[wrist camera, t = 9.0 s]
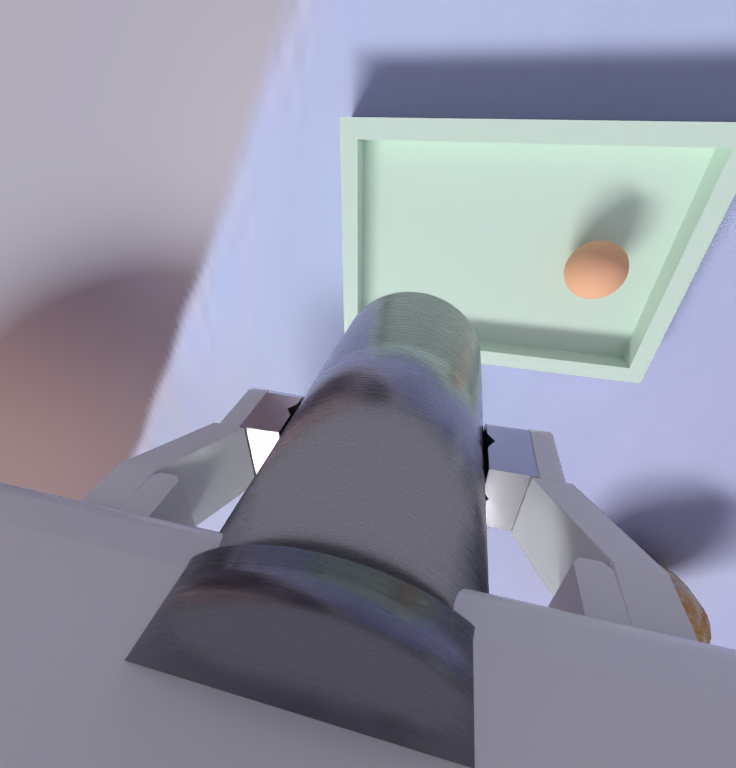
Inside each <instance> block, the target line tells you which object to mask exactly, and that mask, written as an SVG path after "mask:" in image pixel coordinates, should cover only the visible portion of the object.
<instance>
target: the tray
mask: <svg viewBox="0 0 736 768" xmlns="http://www.w3.org/2000/svg"><path fill="white" fill-rule="evenodd" d="M340 162H341V208H342V254H343V299H344V334H345V332H346V331H347V329H348V328H349V326H350V324H351V323H352V321H353V320H354V318H355V317H356V316H357V314H358V313H359V312H360V311H361V310H362V309H363V308H364V307H365V306H367V305H368V304H369V303H371V302H372V301H374V300H376V299H378V298H380V297H383V296H385V295H388V294H393V293H398V292H420V293H426V294H429V295H433V296H436V297H438V298H440V299H443V300H445V301H446V302H448V303H450V304H452V305H453V306H454V307H456V308H457V309H458V310H459V311H460V312H461V313H462V314H463V315H464V316H465V317H466V318H467V319H468V321H469V322H470V323H471V325H472V326H473V328H474V330H475V332H476V335H477V337H478V340H479V345H480V354H481V364H489V365H497V366H505V367H513V368H521V369H529V370H537V371H545V372H553V373H561V374H569V375H577V376H585V377H594V378H602V379H610V380H618V381H626V382H634V383H640V382H641V380H642V378H643V376H644V374H645V372H646V370H647V368H648V366H649V364H650V362H651V360H652V358H653V356H654V354H655V352H656V350H657V348H658V346H659V344H660V343H661V341H662V339H663V337H664V335H665V333H666V331H667V329H668V327H669V325H670V323H671V321H672V319H673V317H674V315H675V313H676V311H677V309H678V307H679V305H680V303H681V301H682V299H683V297H684V295H685V293H686V291H687V289H688V287H689V285H690V283H691V281H692V279H693V277H694V275H695V273H696V271H697V269H698V267H699V265H700V263H701V261H702V259H703V257H704V255H705V253H706V251H707V249H708V247H709V245H710V243H711V241H712V239H713V237H714V235H715V233H716V231H717V229H718V227H719V225H720V223H721V221H722V219H723V217H724V215H725V213H726V211H727V209H728V207H729V205H730V203H731V201H732V199H733V197H734V195H735V193H736V122H684V121H609V120H535V119H460V118H385V117H340ZM599 240H603V241H610V242H613V243H615V244H617V245H619V246H620V247H621V248H622V249H623V250H624V251H625V252H626V254H627V256H628V259H629V272H628V275H627V278H626V280H625V281H624V283H623V284H622V285H621V286H620V287H619V288H618V289H617V290H616V291H615V292H613V293H612V294H610V295H608V296H605V297H602V298H598V299H585V298H581V297H579V296H577V295H575V294H573V293H572V292H571V291H570V290H569V288H568V287H567V285H566V283H565V280H564V268H565V265H566V262H567V260H568V259H569V257H570V256H571V254H572V253H573V252H574V251H575V250H576V249H578V248H579V247H581V246H582V245H584V244H586V243H589V242H593V241H599Z"/></svg>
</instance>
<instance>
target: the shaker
mask: <svg viewBox="0 0 736 768" xmlns="http://www.w3.org/2000/svg"><path fill="white" fill-rule="evenodd" d="M220 533H222V534H223V537H222V540H221V543H220V545H219V547H218V548H215V549H210V550H207V551H204V552H202V553H200V554H197V555H195V556H193V557H192V558H191V560H190V561H189V563H188V565H187V567H186V568H185V570H184V571H183V573H182V574H181V576H180V577H179V579H178V580H177V582H176V583H175V585H174V586H173V588H172V589H171V591H170V592H169V594H168V595H167V597H166V598H165V600H164V601H163V603H162V604H161V606H160V607H159V609H158V610H157V612H156V614H155V615H154V617H153V618H152V620H151V621H150V623H149V624H148V626H147V627H146V629H145V630H144V632H143V633H142V635H141V636H140V638H139V639H138V641H137V642H136V644H135V645H134V647H133V648H132V650H131V651H130V653H129V654H128V656H127V657H126V659H125V661H128V662H131V663H134V664H138V665H141V666H144V667H147V668H151V669H154V670H157V671H160V672H164V673H167V674H170V675H173V676H176V677H180V678H183V679H186V680H189V681H193V682H196V683H199V684H202V685H206V686H209V687H212V688H215V689H218V690H222V691H225V692H228V693H231V694H235V695H238V696H241V697H244V698H247V699H251V700H254V701H257V702H260V703H264V704H267V705H270V706H273V707H277V708H280V709H283V710H286V711H289V712H293V713H296V714H299V715H302V716H306V717H309V718H312V719H315V720H319V721H322V722H325V723H328V724H331V725H335V726H338V727H341V728H344V729H348V730H351V731H354V732H357V733H360V734H364V735H367V736H370V737H373V738H377V739H380V740H383V741H386V742H390V743H393V744H396V745H399V746H402V747H406V748H409V749H412V750H415V751H419V752H422V753H425V754H428V755H432V756H435V757H438V758H441V759H444V760H448V761H451V762H454V763H457V764H461V765H464V766H467V767H470V768H475V746H474V673H473V637H474V630H475V626H473V625H472V624H471V623H470V622H469V621H468V620H466V619H465V618H464V617H462V616H461V615H460V614H458V613H457V612H456V611H454V610H453V607H454V604H455V600H456V596H457V595H458V593H459V591H461V590H462V589H470V590H475V591H479V592H484V593H488V594H489V585H488V556H487V527H486V498H485V470H484V441H483V412H482V383H481V354H480V345H479V340H478V337H477V335H476V332H475V330H474V328H473V326H472V325H471V323H470V322H469V321H468V319H467V318H466V317H465V316H464V315H463V314H462V313H461V312H460V311H459V310H458V309H457V308H456V307H454V306H453V305H452V304H450V303H448V302H446V301H445V300H443V299H440V298H438V297H436V296H433V295H429V294H426V293H420V292H398V293H393V294H388V295H385V296H383V297H380V298H378V299H376V300H374V301H372V302H371V303H369V304H368V305H367V306H365V307H364V308H363V309H362V310H361V311H360V312H359V313H358V314H357V316H356V317H355V318H354V320H353V321H352V323H351V324H350V326H349V328H348V329H347V331H346V332H345V334H344V336H343V337H342V339H341V340H340V342H339V343H338V345H337V347H336V348H335V350H334V351H333V353H332V355H331V356H330V358H329V359H328V361H327V362H326V364H325V366H324V367H323V369H322V370H321V372H320V374H319V375H318V377H317V378H316V380H315V382H314V383H313V385H312V386H311V388H310V389H309V391H308V393H307V394H306V396H305V397H304V399H303V401H302V402H301V404H300V405H299V407H298V408H297V410H296V412H295V413H294V415H293V416H292V418H291V420H290V421H289V423H288V424H287V426H286V428H285V429H284V431H283V432H282V434H281V435H280V437H279V439H278V440H277V442H276V443H275V445H274V447H273V448H272V450H271V451H270V453H269V454H268V456H267V458H266V459H265V461H264V462H263V464H262V466H261V467H260V469H259V470H258V472H257V473H256V475H255V477H254V478H253V480H252V481H251V483H250V485H249V486H248V488H247V489H246V491H245V493H244V494H243V496H242V497H241V499H240V500H239V502H238V504H237V505H236V507H235V508H234V510H233V512H232V513H231V515H230V516H229V518H228V519H227V521H226V523H225V524H224V526H223V527H222V529H221V531H220Z"/></svg>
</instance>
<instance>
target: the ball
mask: <svg viewBox="0 0 736 768" xmlns="http://www.w3.org/2000/svg"><path fill="white" fill-rule="evenodd" d="M628 272H629V259H628V256H627V254H626V252H625V251H624V250H623V249H622V248H621V247H620V246H619V245H617V244H615V243H613V242H610V241H603V240H599V241H593V242H589V243H586V244H584V245H582V246H581V247H579V248H578V249H576V250H575V251H574V252H573V253H572V254H571V256H570V257H569V259H568V260H567V262H566V265H565V268H564V280H565V283H566V285H567V287H568V288H569V290H570V291H571V292H572V293H573V294H575V295H577V296H579V297H581V298H585V299H598V298H602V297H605V296H608V295H610V294H612V293H613V292H615V291H616V290H617V289H618V288H619V287H620V286H621V285H622V284H623V283H624V281H625V280H626V278H627V275H628Z"/></svg>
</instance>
